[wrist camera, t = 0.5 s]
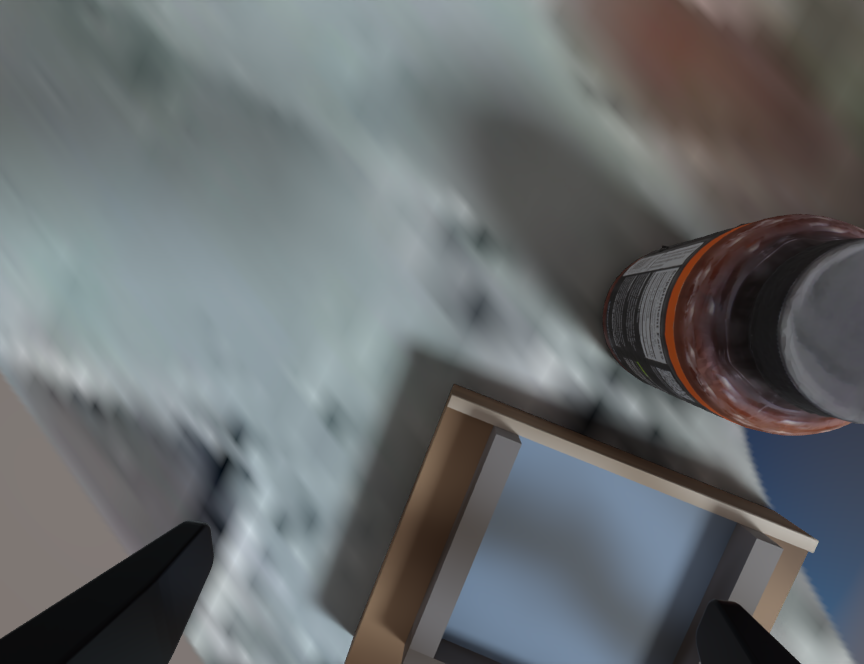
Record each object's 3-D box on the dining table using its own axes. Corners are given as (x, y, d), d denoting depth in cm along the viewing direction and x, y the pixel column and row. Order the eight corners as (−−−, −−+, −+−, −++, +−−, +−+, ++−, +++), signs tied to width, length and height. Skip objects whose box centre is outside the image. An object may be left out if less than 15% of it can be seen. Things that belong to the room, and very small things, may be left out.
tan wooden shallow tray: (655, 766, 23) (695, 865, 19) (353, 637, 23) (329, 706, 19) (774, 511, 22) (843, 558, 18) (453, 383, 22) (450, 401, 18)
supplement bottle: (761, 274, 21) (1099, 242, 10) (709, 405, 22) (973, 517, 10) (626, 229, 21) (803, 148, 10) (577, 359, 22) (694, 419, 11)
